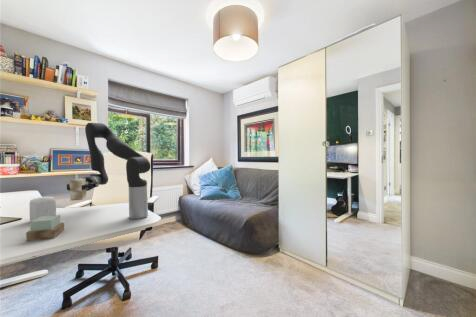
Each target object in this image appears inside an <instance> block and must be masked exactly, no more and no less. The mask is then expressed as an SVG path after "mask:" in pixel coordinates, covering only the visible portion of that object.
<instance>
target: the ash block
mask: <svg viewBox="0 0 476 317" xmlns="http://www.w3.org/2000/svg"><path fill="white" fill-rule="evenodd" d="M69 183H70V191H69V201H70V202H73V201H83V200H85V199H87V191H86V189H84V190H82V185H85V184H86V179H82V178H73V179H69Z"/></svg>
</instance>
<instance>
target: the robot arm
mask: <svg viewBox="0 0 476 317" xmlns="http://www.w3.org/2000/svg"><path fill="white" fill-rule="evenodd" d="M84 128H85V130H84V131H85V136H86V137H85V138H86V141H87V146H88V150H89V156H90V168H91V171H94V172H98V173H90V174H89V176H86V177H85V176H84V177H82V178H81V179H86V184H85V185H82V190H84V189H86V192H88V191H91V190H93V189H95V188H97V187H99V186H100V185H101V186H102V185H106V184H107V183H108V182H109V176H108V174H107V171H106V168H105V158H104V157H105V156H104V155H103V153H102V151H101V150H100V148H99V147H98V145H97V144H96V139H97V138H98V139H105V141H106V143H105V146H106V148H107V150H108V151H109V152H111V154H113V155H114V156H116V157H117V158H120V159H123V160H124V161H125V160H126V163H125V170H126V180H127V184H128V186H127V187H128V217H129V218H128V219H131V220H140V219H143V218H147V217H148V215H149V205H148V204H149V199H148V181H147V180H146V179H143V178H141V177H140V174H144V173H145V174H146V173H148V172H149V171H150V170H151V162H150V161H149V159H148V158H147V157H146V156H144V155H142V154H141V153H139V152H137V151H136V150H135V149H133V147H131V146H129V144H128V143H127V142H126V141H124V140H123V139H122V138H120V137H119V136H118V135H116V134H115V133H114V132H113V131H112V129H110V128H109V126H107V124H105V123H102V122H101V123H99V122H88V123H87V124H86V125H85V127H84ZM66 190H67V191H69V192H70V182H68V183H67V184H66Z"/></svg>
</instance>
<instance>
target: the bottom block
mask: <svg viewBox="0 0 476 317" xmlns="http://www.w3.org/2000/svg"><path fill="white" fill-rule="evenodd" d="M63 232H65V223H64V222H60V224H59V225H58V226H56V227H54V228H53V229H50V230H40V231H31V230H28V231H27V232H26V233H25V234H26V236H25V237H26V242H36V241H41V240H42V241H43V240H51V239H55V238H57V237H58V236H59V235H60V234H62V233H63Z"/></svg>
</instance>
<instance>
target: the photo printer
mask: <svg viewBox="0 0 476 317" xmlns="http://www.w3.org/2000/svg"><path fill="white" fill-rule="evenodd" d="M54 215H57V201H56V198H55V197H53V196H39V197H34V198H32V199H30V200H29V223H30V222H31V221H33V220H35V219H37V218H39V217H41V216H54Z"/></svg>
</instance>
